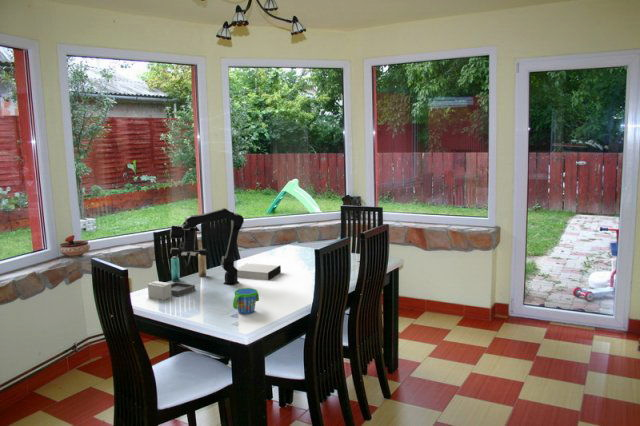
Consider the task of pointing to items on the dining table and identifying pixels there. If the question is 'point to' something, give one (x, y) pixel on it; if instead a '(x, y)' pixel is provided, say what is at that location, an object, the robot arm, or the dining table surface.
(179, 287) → the tray
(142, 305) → the dining table surface
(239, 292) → the snack cup
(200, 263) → the cylinder
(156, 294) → the block
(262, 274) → the disc drive
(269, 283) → the dining table surface
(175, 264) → the cylinder
